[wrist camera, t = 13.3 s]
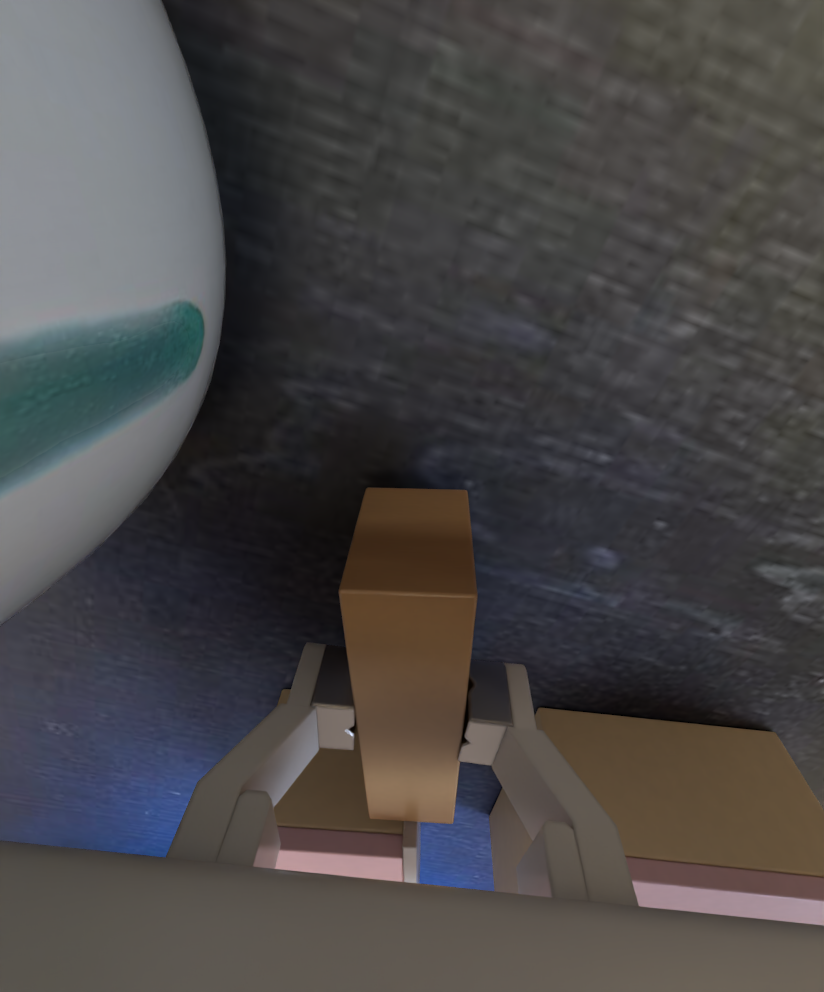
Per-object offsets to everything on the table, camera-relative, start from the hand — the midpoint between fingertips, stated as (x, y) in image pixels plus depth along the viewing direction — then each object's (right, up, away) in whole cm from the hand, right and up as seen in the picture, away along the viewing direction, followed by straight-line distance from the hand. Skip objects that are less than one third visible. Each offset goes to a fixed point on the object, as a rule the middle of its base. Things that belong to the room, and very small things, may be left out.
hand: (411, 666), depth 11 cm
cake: (+9, -8, +8) cm, 14 cm away
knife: (0, -5, +5) cm, 7 cm away
